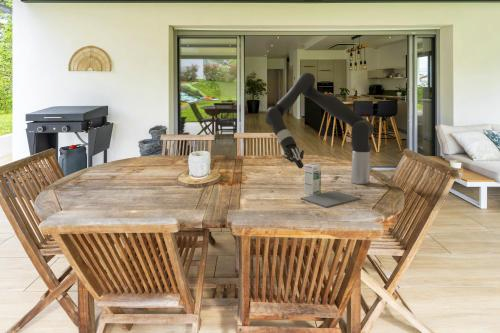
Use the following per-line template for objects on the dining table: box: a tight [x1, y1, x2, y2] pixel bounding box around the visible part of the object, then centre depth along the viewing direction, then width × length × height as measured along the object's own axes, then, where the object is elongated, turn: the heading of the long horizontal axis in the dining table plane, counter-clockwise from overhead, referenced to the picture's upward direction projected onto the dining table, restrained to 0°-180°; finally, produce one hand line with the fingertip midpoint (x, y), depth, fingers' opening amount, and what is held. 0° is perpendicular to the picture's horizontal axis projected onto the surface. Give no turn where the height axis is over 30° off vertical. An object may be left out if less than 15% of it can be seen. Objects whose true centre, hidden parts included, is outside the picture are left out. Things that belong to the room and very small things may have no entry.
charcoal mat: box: [300, 190, 361, 208], centre depth 176 cm, size 22×16×1 cm
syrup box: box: [303, 162, 322, 196], centre depth 184 cm, size 6×6×14 cm
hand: (301, 167), depth 190 cm, fingers closed
